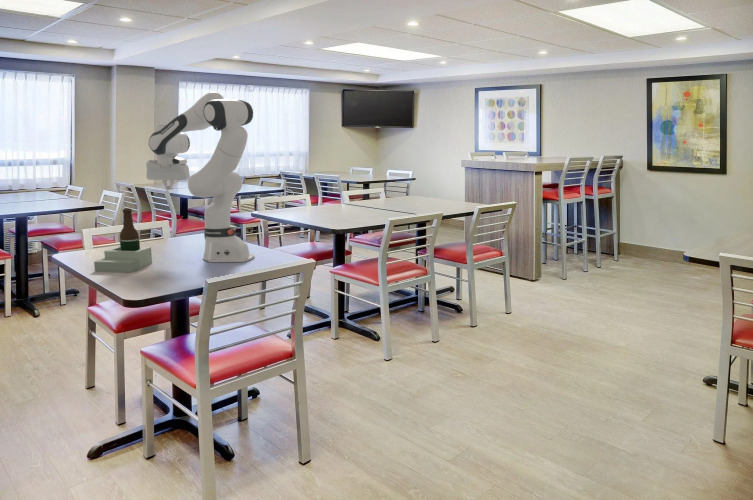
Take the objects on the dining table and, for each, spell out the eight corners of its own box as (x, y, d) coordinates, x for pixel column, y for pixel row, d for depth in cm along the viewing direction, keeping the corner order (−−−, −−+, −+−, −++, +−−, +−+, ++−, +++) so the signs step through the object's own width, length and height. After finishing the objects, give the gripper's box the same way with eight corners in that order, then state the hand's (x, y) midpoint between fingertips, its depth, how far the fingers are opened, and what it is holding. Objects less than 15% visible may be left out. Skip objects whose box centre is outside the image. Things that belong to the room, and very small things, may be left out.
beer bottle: (117, 264, 259) (113, 209, 254) (133, 261, 265) (128, 207, 260) (129, 266, 255) (125, 210, 250) (145, 263, 261) (140, 208, 257)
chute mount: (153, 262, 262) (152, 247, 261) (131, 272, 244) (130, 255, 243) (118, 261, 264) (117, 246, 263) (94, 271, 247) (93, 254, 245)
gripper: (142, 160, 280) (145, 189, 283) (184, 160, 278) (186, 190, 281) (149, 159, 287) (151, 188, 289) (190, 159, 284) (191, 189, 287)
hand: (168, 189), depth 285 cm, fingers closed
